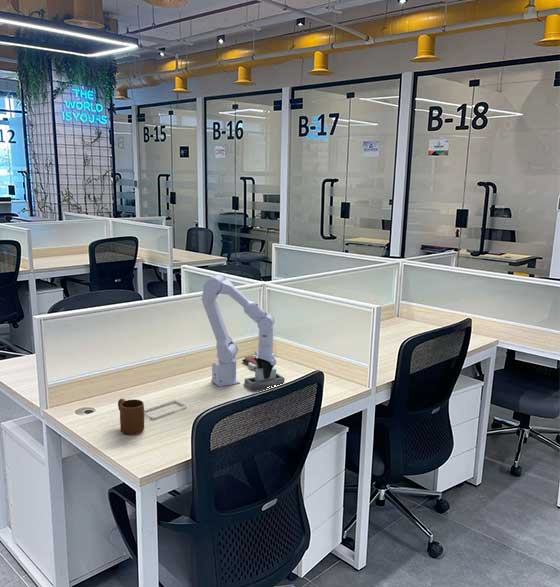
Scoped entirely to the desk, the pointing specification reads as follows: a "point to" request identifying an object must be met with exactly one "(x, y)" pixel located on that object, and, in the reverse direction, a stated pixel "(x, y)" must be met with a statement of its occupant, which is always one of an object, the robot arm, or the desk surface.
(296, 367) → the desk surface
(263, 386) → the grey rectangular tray
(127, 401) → the mug
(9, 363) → the desk surface
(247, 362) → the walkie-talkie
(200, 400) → the desk surface
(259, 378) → the blue-grey block
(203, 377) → the desk surface
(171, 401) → the grey rectangular frame
